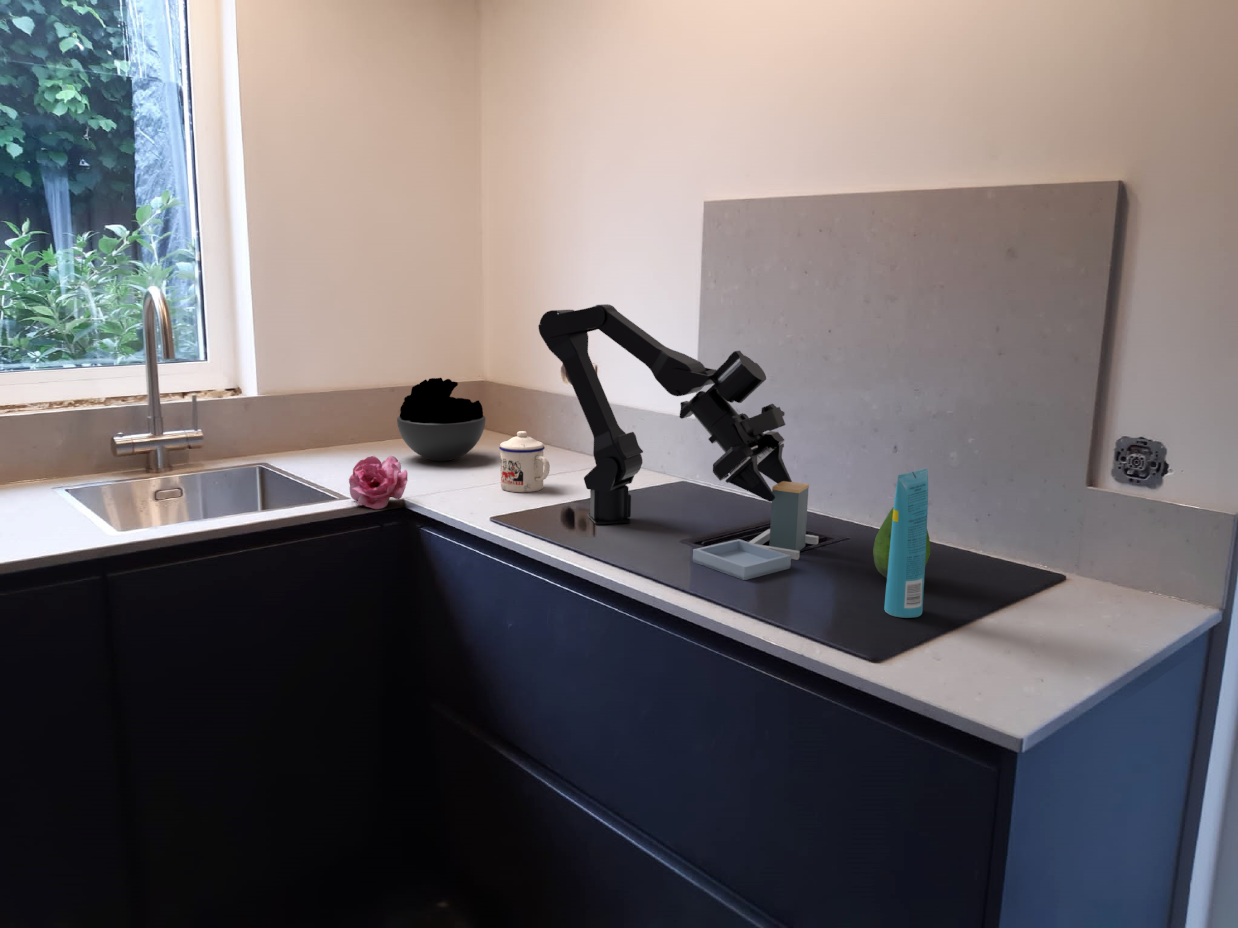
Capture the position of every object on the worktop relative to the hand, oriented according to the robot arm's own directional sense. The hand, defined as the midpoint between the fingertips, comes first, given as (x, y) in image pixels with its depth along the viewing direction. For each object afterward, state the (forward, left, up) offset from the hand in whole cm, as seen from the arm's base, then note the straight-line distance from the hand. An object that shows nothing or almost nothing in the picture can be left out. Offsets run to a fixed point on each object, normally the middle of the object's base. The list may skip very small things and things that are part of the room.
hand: (782, 494), depth 155 cm
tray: (-10, -8, -9) cm, 16 cm away
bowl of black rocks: (-47, +82, -9) cm, 95 cm away
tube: (+3, -32, -9) cm, 33 cm away
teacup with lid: (-33, +49, -9) cm, 60 cm away
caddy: (+1, -1, -9) cm, 9 cm away
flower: (-63, +43, -9) cm, 76 cm away
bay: (+1, -1, -9) cm, 9 cm away
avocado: (+10, -20, -9) cm, 24 cm away
